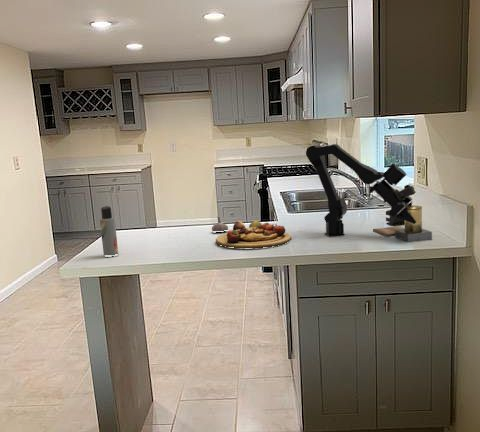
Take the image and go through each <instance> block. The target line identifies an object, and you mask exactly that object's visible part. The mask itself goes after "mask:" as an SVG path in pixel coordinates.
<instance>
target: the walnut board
mask: <svg viewBox="0 0 480 432" xmlns="http://www.w3.org/2000/svg"><path fill="white" fill-rule="evenodd" d="M397 229H405V227H402V226H398V225H395V226H390V227H389V226H387V227H379V228H372V232H374V233H376V234H379V235H381V236H383V237H385V238H386V237H395V230H397Z"/></svg>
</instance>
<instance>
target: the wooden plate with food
mask: <svg viewBox="0 0 480 432" xmlns="http://www.w3.org/2000/svg"><path fill="white" fill-rule="evenodd" d="M290 240H291V241H292V240H293V239H292V235H291V234H290V233H288V232H286V228H285V225H277V223H275V224H269V222H264V223H261V222H260V221H259V220H257V219H255V220H253V221H252V222H251V223H250V224H249V225H248V227H246V225H245V224H244V223H243V222H242V221H241V220H237V221H235V222H234V224H233V226H232V229H228V231H227V232H225V233H222V234H220V235H218V236H217V237H216V238H215V243H216V244H217V245H218V244H219V245H222V246H226V247H234V248H263V247H272V246H277V247H279V246H278V245H281V246H283V245H282V244H284V245H286V244H285V243H287V242H289V241H290ZM291 241H290V242H291ZM290 242H289V243H290ZM287 244H288V243H287ZM219 245H218V246H219ZM222 246H221V247H222Z"/></svg>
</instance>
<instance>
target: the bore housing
mask: <svg viewBox="0 0 480 432" xmlns="http://www.w3.org/2000/svg"><path fill="white" fill-rule="evenodd" d="M394 237H395V238H398V240H399V239H400V240H402V241H403V242H407V243H413V242H419V241H420V242H421V241H430V240H433V232H432V231H430V230H428V229H425V228H422V231H419V232H413V233H410V232H407V231H405V229H397V230H395V236H394Z"/></svg>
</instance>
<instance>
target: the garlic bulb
mask: <svg viewBox="0 0 480 432" xmlns="http://www.w3.org/2000/svg"><path fill="white" fill-rule="evenodd" d="M224 230H228V231H229V227H228V225H227V224H225V223H223V222H222V220H221V218H220V215H218V216H217V223H215V224H213V226H211V231H212V232H213V231H224Z"/></svg>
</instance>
